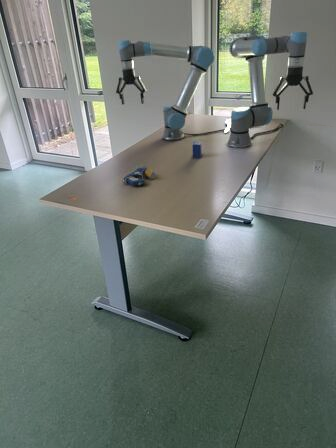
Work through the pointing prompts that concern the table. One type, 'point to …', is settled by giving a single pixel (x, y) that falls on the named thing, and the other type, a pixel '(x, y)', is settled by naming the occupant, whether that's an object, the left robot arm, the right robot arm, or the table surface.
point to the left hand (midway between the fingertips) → (132, 103)
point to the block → (196, 149)
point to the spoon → (228, 125)
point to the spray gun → (139, 176)
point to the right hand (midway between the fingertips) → (290, 109)
